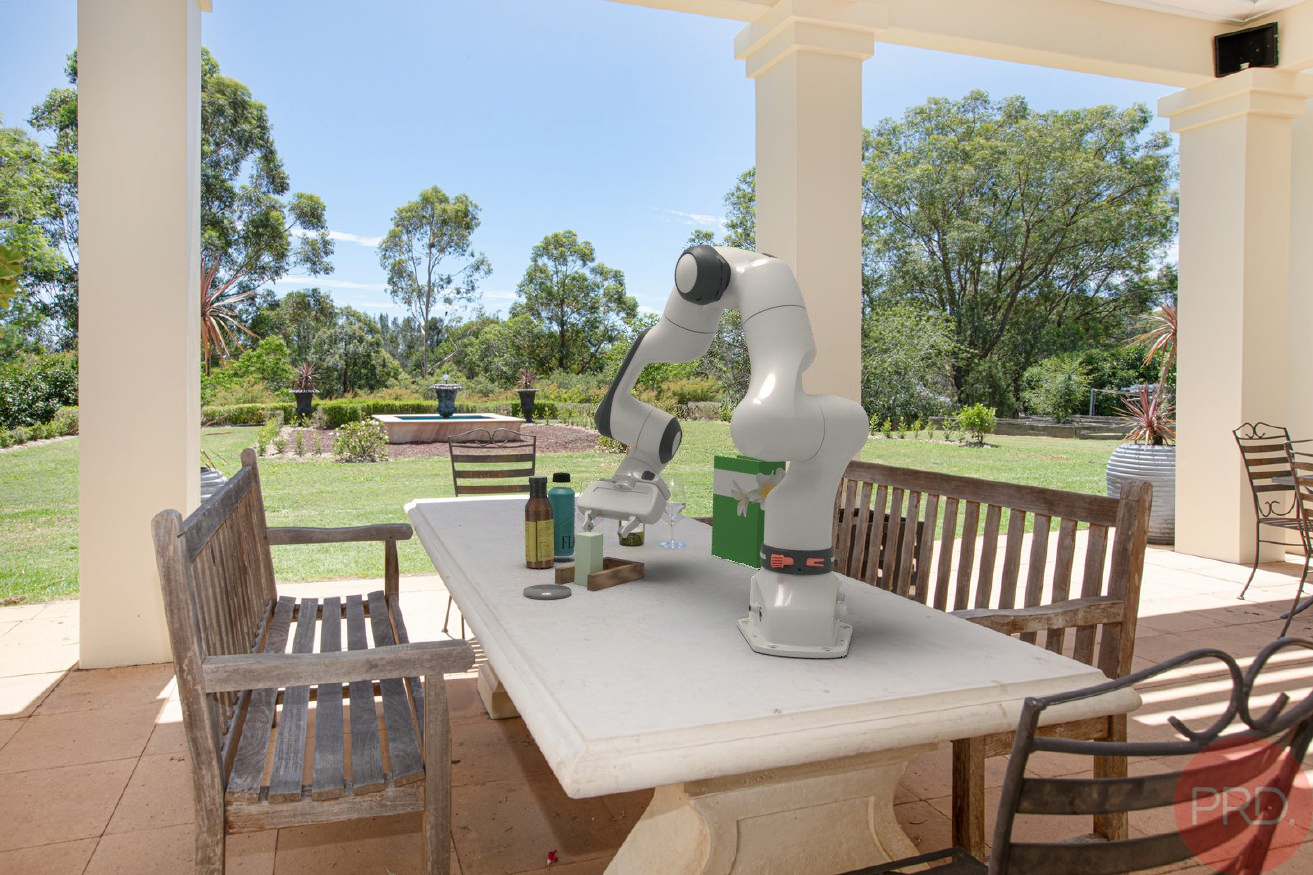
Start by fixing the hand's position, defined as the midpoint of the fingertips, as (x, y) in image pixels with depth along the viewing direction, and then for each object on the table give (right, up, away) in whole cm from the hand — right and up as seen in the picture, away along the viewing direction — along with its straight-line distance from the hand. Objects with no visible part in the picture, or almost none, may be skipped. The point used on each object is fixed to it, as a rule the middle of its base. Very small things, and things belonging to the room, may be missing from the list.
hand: (603, 533), depth 174 cm
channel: (-1, -10, -1) cm, 10 cm away
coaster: (-10, -10, -13) cm, 19 cm away
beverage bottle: (-11, -9, +19) cm, 24 cm away
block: (-3, -10, -3) cm, 11 cm away
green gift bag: (+32, -9, +23) cm, 40 cm away
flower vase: (+34, -11, -14) cm, 38 cm away
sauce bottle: (-15, -9, +12) cm, 21 cm away
